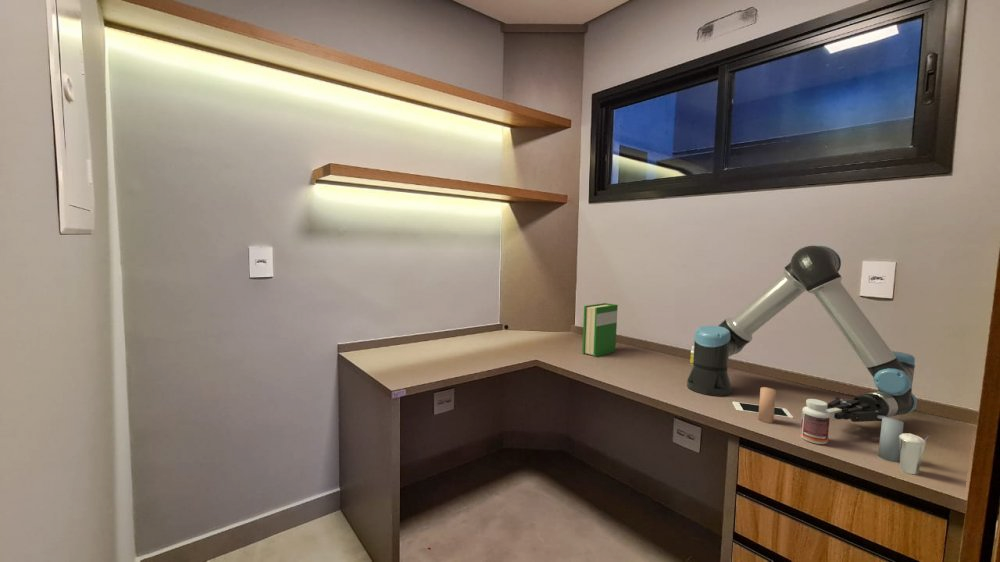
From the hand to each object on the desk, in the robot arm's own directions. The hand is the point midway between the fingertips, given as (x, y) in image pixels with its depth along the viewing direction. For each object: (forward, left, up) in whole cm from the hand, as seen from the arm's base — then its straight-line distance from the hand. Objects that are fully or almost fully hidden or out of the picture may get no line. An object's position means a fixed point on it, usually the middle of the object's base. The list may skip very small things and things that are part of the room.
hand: (824, 416), depth 116 cm
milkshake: (+18, -6, -7) cm, 20 cm away
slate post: (+14, -1, -7) cm, 15 cm away
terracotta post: (-14, +2, -7) cm, 16 cm away
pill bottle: (-2, -3, -7) cm, 8 cm away
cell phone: (-17, +11, -7) cm, 22 cm away
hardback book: (-92, +34, -7) cm, 98 cm away
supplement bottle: (-51, +49, -7) cm, 71 cm away
